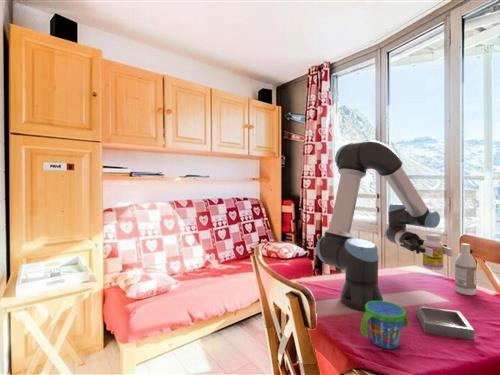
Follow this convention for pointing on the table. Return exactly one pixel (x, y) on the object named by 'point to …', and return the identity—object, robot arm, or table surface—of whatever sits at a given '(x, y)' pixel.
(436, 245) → the supplement bottle
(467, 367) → the table surface
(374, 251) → the robot arm
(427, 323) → the grey square tray
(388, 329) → the snack cup
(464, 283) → the bath foam
